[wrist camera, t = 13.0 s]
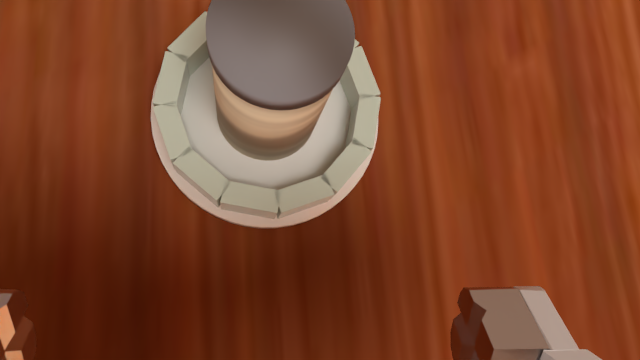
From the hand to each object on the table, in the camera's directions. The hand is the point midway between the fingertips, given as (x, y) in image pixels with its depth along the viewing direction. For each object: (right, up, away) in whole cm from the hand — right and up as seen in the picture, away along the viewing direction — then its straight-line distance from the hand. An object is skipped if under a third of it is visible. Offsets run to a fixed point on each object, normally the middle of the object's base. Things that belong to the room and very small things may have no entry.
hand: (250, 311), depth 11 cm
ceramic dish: (-1, +6, +18) cm, 19 cm away
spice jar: (-1, +6, +17) cm, 18 cm away
